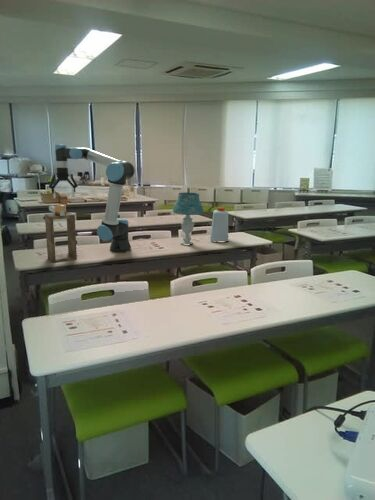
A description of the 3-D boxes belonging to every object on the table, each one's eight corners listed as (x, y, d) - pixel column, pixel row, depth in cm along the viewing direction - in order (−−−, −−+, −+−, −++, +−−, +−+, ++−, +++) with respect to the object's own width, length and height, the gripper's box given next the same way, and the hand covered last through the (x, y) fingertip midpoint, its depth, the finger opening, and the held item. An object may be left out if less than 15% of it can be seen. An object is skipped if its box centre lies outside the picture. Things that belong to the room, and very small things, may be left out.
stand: (71, 254, 254) (69, 212, 246) (76, 258, 246) (74, 214, 238) (47, 258, 245) (44, 214, 236) (52, 262, 237) (49, 216, 229)
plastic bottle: (209, 242, 301) (211, 208, 293) (210, 238, 315) (212, 205, 308) (228, 243, 300) (230, 209, 292) (228, 239, 314) (230, 206, 306)
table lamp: (207, 245, 291) (210, 195, 279) (182, 249, 278) (184, 196, 267) (190, 238, 310) (192, 191, 298) (166, 242, 297) (167, 192, 285)
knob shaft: (56, 209, 252) (55, 200, 250) (67, 215, 235) (67, 205, 234) (46, 210, 248) (45, 201, 246) (56, 216, 231) (56, 206, 230)
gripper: (77, 166, 268) (78, 195, 274) (42, 167, 253) (44, 197, 259) (81, 167, 263) (82, 197, 268) (45, 167, 248) (48, 199, 253)
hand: (64, 197), depth 264 cm, fingers open, 13 cm apart
